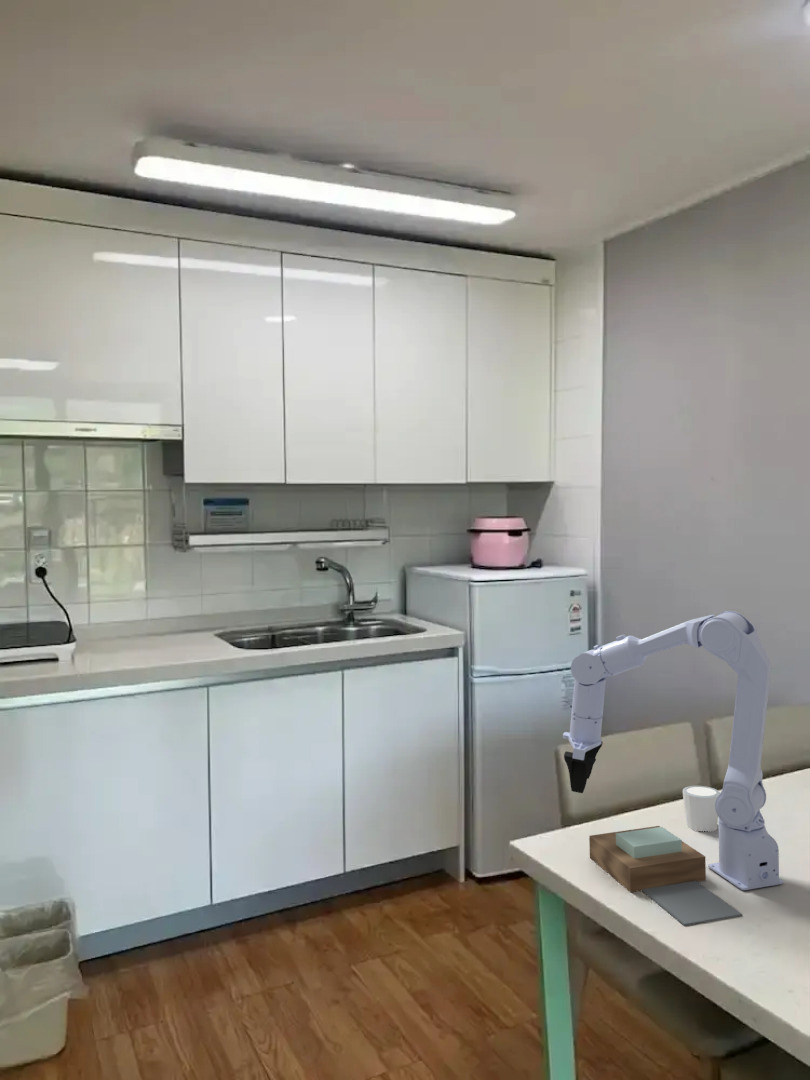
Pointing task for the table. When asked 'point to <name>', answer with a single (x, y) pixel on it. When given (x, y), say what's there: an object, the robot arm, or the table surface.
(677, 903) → the mat
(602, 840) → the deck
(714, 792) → the white short cylinder
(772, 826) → the table surface
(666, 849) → the mint green flat block
